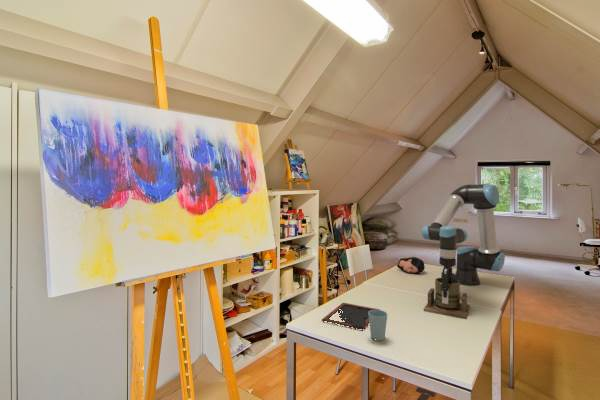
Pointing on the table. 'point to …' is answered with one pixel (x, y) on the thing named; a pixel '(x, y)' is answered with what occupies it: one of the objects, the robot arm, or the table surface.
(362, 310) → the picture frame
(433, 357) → the table surface
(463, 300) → the roll stand
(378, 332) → the cup
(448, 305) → the piston
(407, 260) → the head
